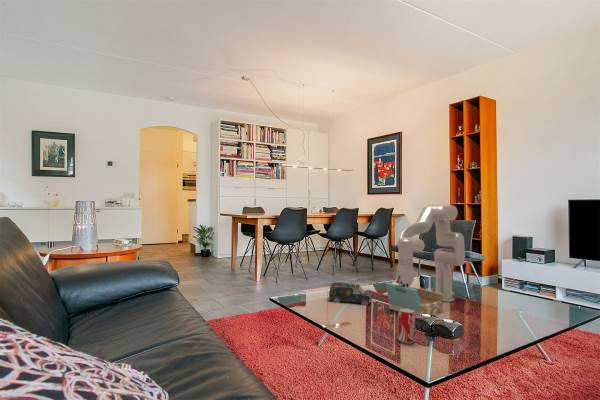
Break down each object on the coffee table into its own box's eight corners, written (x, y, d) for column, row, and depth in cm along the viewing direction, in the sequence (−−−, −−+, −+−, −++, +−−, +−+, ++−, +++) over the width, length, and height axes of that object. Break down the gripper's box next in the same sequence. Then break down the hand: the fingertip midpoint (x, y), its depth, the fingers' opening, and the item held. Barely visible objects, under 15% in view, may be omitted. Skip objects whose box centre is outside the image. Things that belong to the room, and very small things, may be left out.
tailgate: (390, 302, 184) (386, 282, 182) (421, 311, 169) (417, 289, 167) (388, 303, 183) (384, 283, 181) (419, 312, 168) (415, 291, 166)
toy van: (370, 306, 188) (371, 288, 188) (328, 302, 194) (328, 285, 194) (371, 301, 198) (371, 284, 199) (330, 297, 205) (331, 281, 205)
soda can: (394, 337, 142) (395, 307, 142) (410, 337, 143) (411, 307, 143) (401, 344, 135) (401, 312, 135) (418, 344, 136) (418, 312, 136)
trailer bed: (410, 303, 196) (410, 286, 196) (442, 312, 180) (442, 293, 180) (389, 308, 184) (389, 290, 184) (421, 318, 168) (421, 299, 168)
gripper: (407, 259, 184) (407, 292, 184) (391, 262, 175) (390, 297, 175) (419, 261, 178) (419, 296, 178) (403, 264, 169) (402, 300, 169)
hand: (405, 296), depth 176 cm, fingers closed
